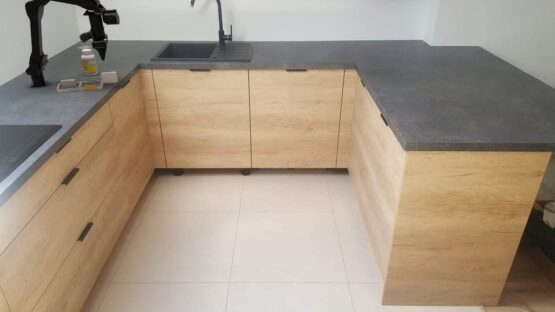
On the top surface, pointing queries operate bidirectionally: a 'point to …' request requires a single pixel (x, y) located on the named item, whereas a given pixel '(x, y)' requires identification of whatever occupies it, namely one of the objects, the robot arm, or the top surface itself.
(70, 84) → the grey filler panel
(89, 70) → the supplement bottle
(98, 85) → the rack
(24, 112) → the top surface
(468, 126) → the top surface
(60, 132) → the top surface
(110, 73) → the white panel
